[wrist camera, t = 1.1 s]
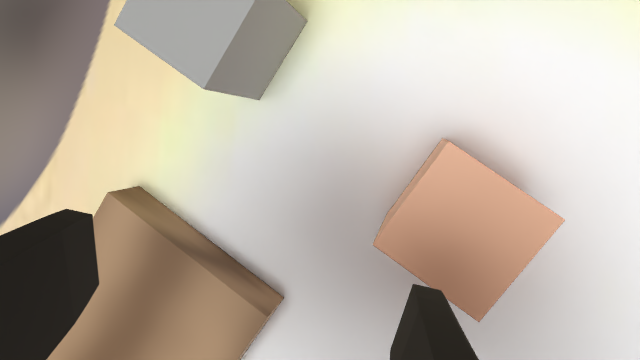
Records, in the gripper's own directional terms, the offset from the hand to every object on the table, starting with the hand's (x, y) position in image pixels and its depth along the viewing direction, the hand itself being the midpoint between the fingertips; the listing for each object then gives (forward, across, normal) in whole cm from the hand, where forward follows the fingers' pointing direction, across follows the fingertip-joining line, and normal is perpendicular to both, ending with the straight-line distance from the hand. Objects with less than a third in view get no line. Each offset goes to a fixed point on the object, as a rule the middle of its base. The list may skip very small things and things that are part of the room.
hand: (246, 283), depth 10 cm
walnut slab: (+10, +6, +13) cm, 18 cm away
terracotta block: (+11, -7, +3) cm, 14 cm away
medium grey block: (+15, +4, -2) cm, 16 cm away
